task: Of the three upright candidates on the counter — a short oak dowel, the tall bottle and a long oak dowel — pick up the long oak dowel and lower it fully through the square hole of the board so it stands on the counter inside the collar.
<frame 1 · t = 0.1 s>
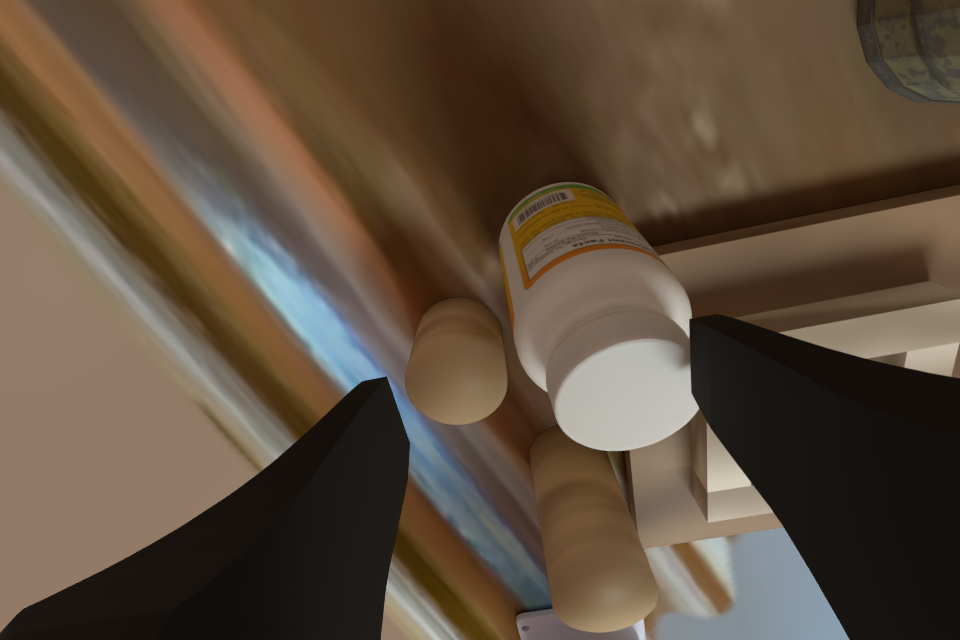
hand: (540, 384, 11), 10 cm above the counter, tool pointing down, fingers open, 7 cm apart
short oak dowel: (459, 336, 22), on the counter
supplement bottle: (559, 239, 20), on the counter, touching collar board
long oak dowel: (566, 454, 25), on the counter
collar board: (782, 385, 23), on the counter
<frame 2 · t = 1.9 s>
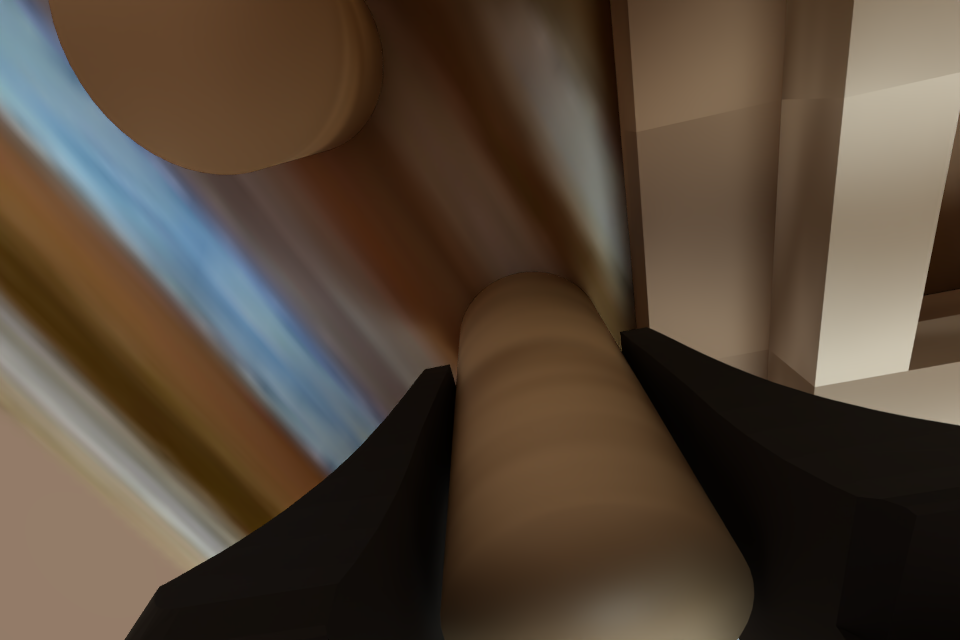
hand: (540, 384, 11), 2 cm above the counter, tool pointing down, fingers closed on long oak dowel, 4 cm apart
short oak dowel: (293, 58, 10), on the counter
long oak dowel: (529, 338, 13), on the counter, touching gripper
collar board: (953, 184, 12), on the counter
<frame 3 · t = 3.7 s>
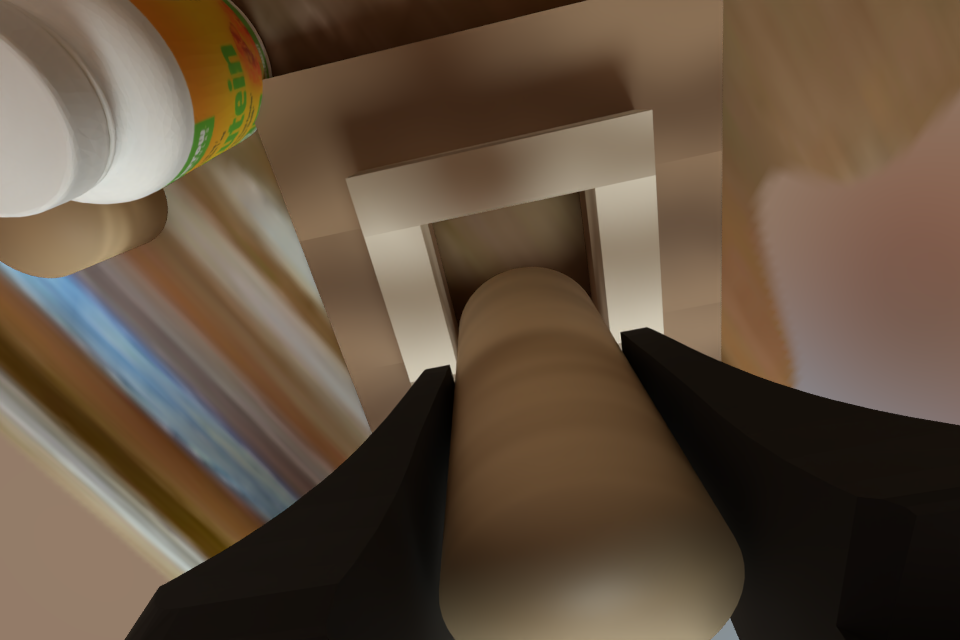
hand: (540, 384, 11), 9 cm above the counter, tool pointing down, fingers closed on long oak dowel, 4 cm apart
short oak dowel: (115, 196, 18), on the counter
supplement bottle: (200, 65, 17), on the counter, touching collar board
long oak dowel: (528, 333, 13), point 7 cm above the counter, touching gripper
collar board: (514, 263, 20), on the counter
when the fingers open (4 cm above the counter, at t = 5.2 s): long oak dowel drops 1 cm, resting in collar board.
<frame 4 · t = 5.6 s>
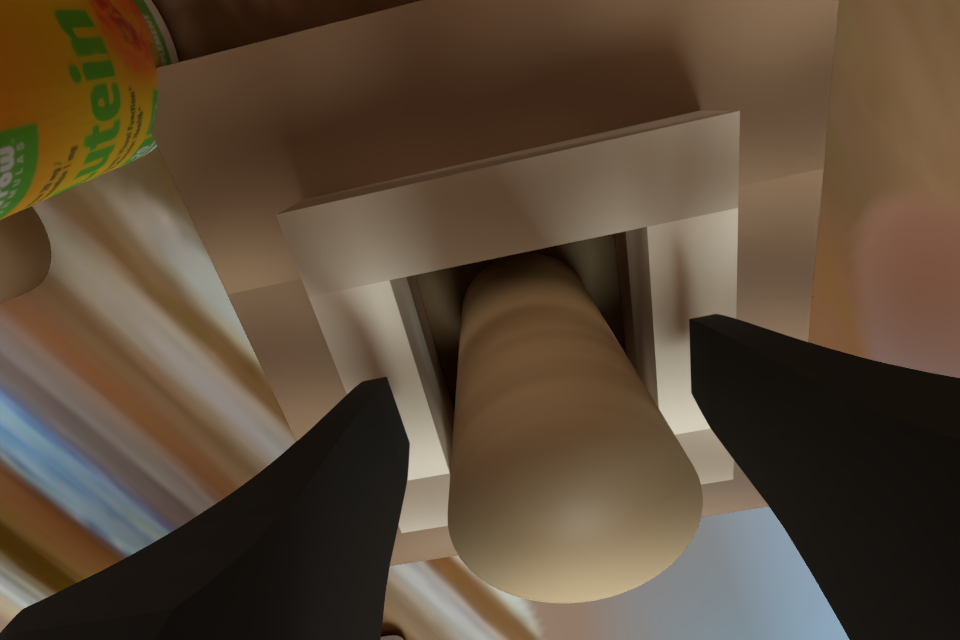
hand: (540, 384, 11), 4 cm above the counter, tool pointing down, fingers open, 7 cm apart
supplement bottle: (77, 48, 12), on the counter, touching collar board
long oak dowel: (525, 314, 15), resting in collar board
collar board: (524, 317, 15), on the counter
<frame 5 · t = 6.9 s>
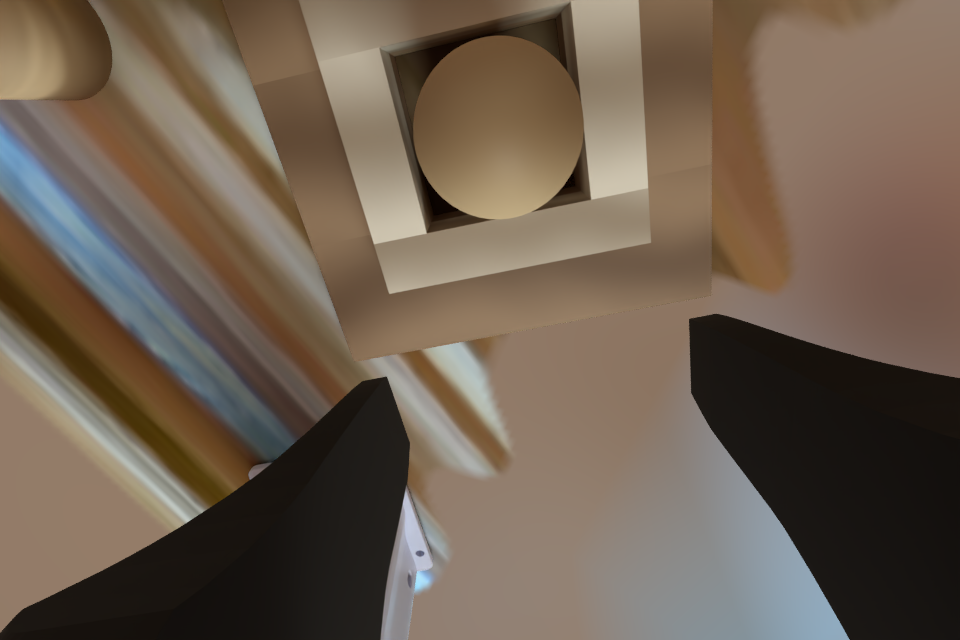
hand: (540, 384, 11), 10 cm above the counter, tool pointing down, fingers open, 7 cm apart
short oak dowel: (54, 39, 17), on the counter
long oak dowel: (490, 122, 18), resting in collar board
collar board: (489, 124, 18), on the counter
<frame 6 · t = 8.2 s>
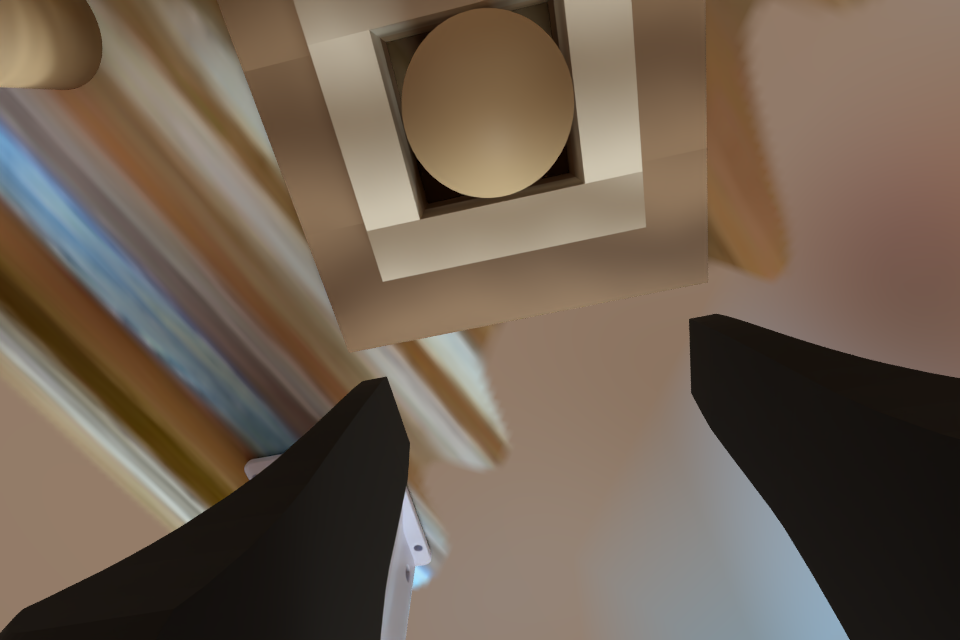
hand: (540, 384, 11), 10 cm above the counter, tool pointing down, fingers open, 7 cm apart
short oak dowel: (44, 28, 17), on the counter
long oak dowel: (483, 108, 18), resting in collar board
collar board: (482, 111, 18), on the counter
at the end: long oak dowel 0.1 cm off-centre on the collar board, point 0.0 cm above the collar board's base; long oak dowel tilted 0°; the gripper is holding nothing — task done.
